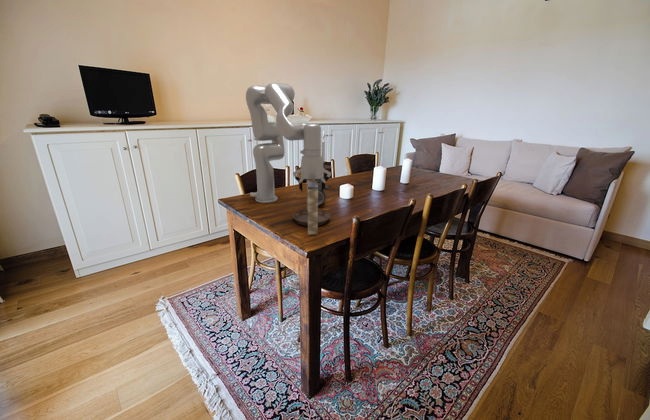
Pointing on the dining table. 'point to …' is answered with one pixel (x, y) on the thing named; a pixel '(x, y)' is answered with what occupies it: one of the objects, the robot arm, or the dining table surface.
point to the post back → (307, 188)
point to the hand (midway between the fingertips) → (312, 190)
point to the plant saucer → (303, 217)
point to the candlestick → (324, 159)
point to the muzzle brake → (320, 192)
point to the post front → (312, 208)
